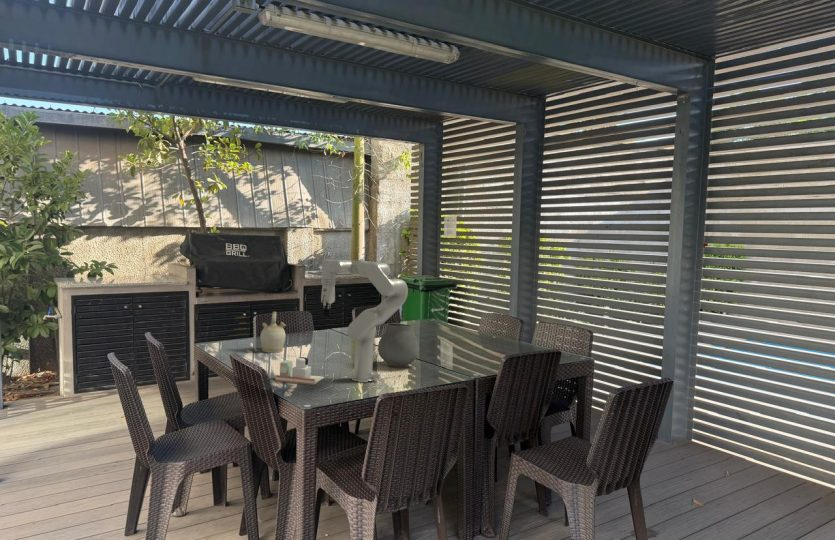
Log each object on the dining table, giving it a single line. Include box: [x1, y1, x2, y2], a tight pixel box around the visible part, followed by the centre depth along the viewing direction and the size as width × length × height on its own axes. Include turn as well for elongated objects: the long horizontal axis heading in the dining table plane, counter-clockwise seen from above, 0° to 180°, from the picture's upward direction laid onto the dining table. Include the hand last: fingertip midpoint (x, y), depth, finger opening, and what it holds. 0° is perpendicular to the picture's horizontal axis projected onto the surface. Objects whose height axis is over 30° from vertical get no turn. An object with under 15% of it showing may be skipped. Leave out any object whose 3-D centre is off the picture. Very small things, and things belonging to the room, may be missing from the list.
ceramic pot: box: [377, 322, 420, 368], centre depth 337 cm, size 24×24×25 cm
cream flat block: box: [275, 374, 325, 386], centre depth 296 cm, size 20×17×3 cm
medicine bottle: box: [292, 356, 312, 379], centre depth 292 cm, size 7×7×12 cm
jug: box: [259, 311, 287, 354], centre depth 359 cm, size 15×16×25 cm
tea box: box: [279, 359, 293, 377], centre depth 294 cm, size 4×6×9 cm, turn 170°
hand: (326, 315), depth 312 cm, fingers closed
